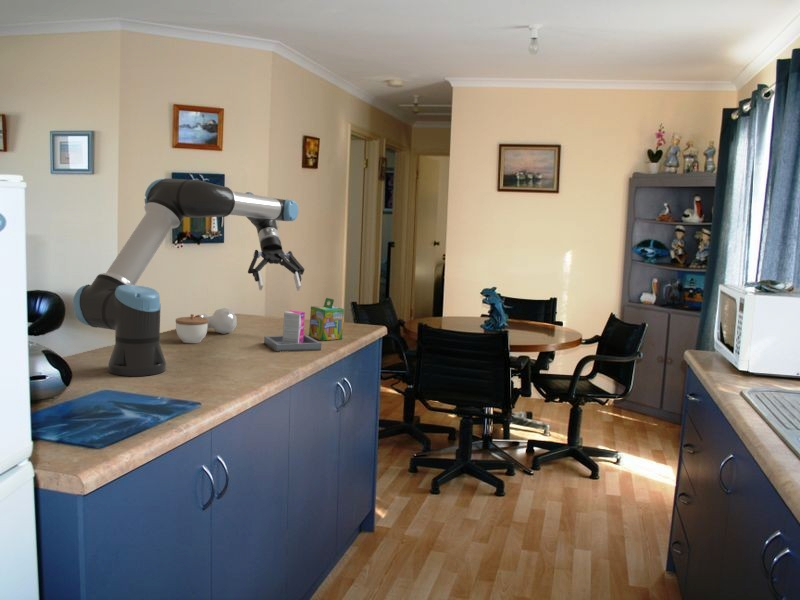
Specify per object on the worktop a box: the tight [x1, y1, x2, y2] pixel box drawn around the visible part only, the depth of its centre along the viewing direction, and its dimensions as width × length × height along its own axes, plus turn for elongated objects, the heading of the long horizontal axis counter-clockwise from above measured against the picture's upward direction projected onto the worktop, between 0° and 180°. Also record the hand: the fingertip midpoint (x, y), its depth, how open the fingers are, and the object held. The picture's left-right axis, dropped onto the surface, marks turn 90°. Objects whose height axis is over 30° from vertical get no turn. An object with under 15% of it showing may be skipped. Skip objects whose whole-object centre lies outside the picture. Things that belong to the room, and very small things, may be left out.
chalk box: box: [308, 297, 345, 342], centre depth 268 cm, size 9×9×15 cm
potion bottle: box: [194, 307, 238, 335], centre depth 268 cm, size 9×10×15 cm
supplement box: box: [282, 310, 306, 344], centre depth 250 cm, size 6×6×12 cm
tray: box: [263, 334, 322, 353], centre depth 250 cm, size 15×15×2 cm
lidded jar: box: [175, 313, 209, 344], centre depth 249 cm, size 11×11×9 cm
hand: (280, 288), depth 256 cm, fingers open, 13 cm apart
